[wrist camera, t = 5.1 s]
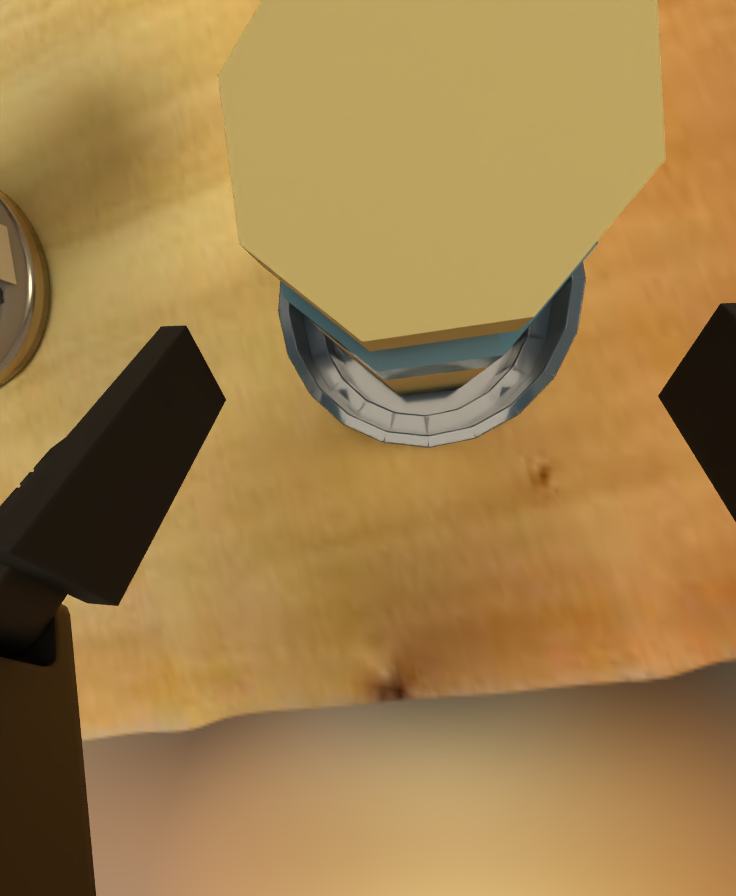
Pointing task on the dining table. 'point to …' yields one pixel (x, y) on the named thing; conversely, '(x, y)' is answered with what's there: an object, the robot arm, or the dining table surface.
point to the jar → (436, 164)
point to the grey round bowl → (439, 412)
